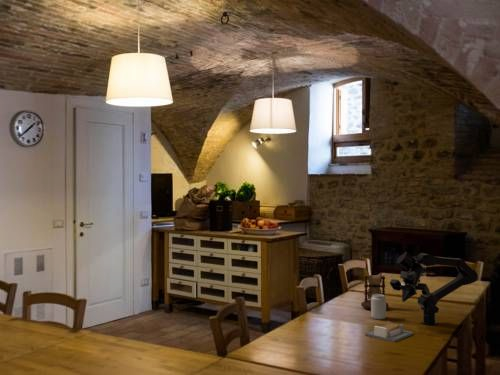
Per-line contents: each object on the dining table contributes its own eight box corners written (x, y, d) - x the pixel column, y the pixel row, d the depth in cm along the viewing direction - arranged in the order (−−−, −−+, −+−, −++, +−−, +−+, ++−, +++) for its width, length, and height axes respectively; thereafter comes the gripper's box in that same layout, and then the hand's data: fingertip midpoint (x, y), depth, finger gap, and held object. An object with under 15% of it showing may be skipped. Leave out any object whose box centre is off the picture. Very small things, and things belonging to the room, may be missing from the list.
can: (386, 320, 276) (386, 296, 276) (371, 319, 278) (371, 296, 278) (385, 316, 284) (385, 293, 283) (371, 315, 285) (370, 293, 285)
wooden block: (390, 322, 256) (377, 328, 248) (399, 324, 252) (387, 330, 244) (390, 325, 256) (377, 330, 248) (399, 327, 252) (387, 332, 244)
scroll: (387, 305, 308) (387, 270, 308) (389, 312, 293) (389, 275, 293) (360, 304, 310) (360, 270, 310) (361, 311, 296) (361, 274, 296)
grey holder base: (384, 328, 262) (384, 317, 262) (413, 334, 251) (413, 323, 251) (365, 335, 250) (365, 324, 250) (394, 342, 239) (394, 331, 239)
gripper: (391, 262, 269) (379, 288, 262) (426, 266, 256) (415, 293, 248) (399, 276, 275) (388, 301, 267) (434, 281, 262) (423, 308, 254)
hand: (403, 301), depth 259 cm, fingers closed
